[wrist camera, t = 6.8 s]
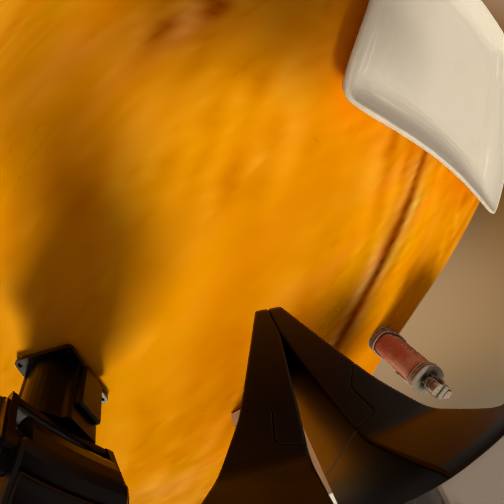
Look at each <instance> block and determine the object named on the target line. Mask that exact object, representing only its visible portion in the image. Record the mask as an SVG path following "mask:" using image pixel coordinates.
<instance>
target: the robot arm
mask: <svg viewBox="0 0 504 504" xmlns="http://www.w3.org/2000/svg"><path fill="white" fill-rule="evenodd" d="M67 350H70V351H71V352H68V351H67ZM21 364H22V365H21ZM15 365H16V367H17V368H18V370H19V371H20V372H21V374H22V375H23V376H24V381H23V384H22V387H21V390H20V393H19V395H18V394H17V393H15V392H14V391H13V392H12V393H11V394H10V395H9V396H8V397H7V398H6V397H1V396H0V504H129V492H128V487H127V485H126V484H125V482H124V479H123V477H122V474H121V472H120V469H119V467H118V464H117V462H116V459H115V456H114V454H113V451H111V450H108V449H104V448H102V447H100V446H98V445H96V444H95V440H96V425H99V424H100V421H101V404H102V403H106V402H107V400H108V396H107V394H106V393H105V392H104V390H103V389H102V386H101V384H100V383H99V381H98V380H97V379H96V377H95V376H94V374H93V373H92V371H91V370H90V369H89V367H88V366H86V365H85V363H84V362H83V360H82V359H81V357H80V356H79V354H78V353H77V351H76V350H75V348H74V347H73V346H72V345H69V344H67V345H63V346H60V347H56V348H53V349H49V350H46V351H42V352H38V353H35V354H31V355H27V356H24V357H20V358H17V360H16V362H15ZM303 428H304V429H303ZM304 430H305V432H306V435H307V437H308V439H309V442H310V444H311V446H312V448H313V451H314V453H315V455H316V457H317V460H318V462H319V464H320V466H321V469H322V471H323V473H324V475H325V477H326V480H327V482H328V484H329V486H330V489H331V491H332V493H333V495H334V497H335V500H336V502H337V504H504V404H503V405H501V406H498V407H494V408H484V409H437V408H432V407H429V406H426V405H423V404H421V403H419V402H417V401H415V400H413V399H412V398H409V397H408V396H406V395H404V394H403V393H401V392H399V391H397V390H395V389H393V388H392V387H390V386H388V385H386V384H385V383H383V382H382V381H380V380H378V379H377V378H375V377H374V376H372V375H371V374H369V373H368V372H366V371H365V370H364V369H362V368H361V367H360V366H358V365H357V364H354V362H353V361H351V360H350V359H349V358H347V357H346V356H345V355H343V354H342V353H341V352H339V351H338V350H337V349H335V348H334V347H333V346H331V345H330V344H329V343H327V342H326V341H325V340H323V339H322V338H321V337H319V336H318V335H317V334H315V333H314V332H313V331H312V330H310V329H309V328H308V327H306V326H305V325H304V324H302V323H301V322H300V321H298V320H297V319H296V318H295V317H293V316H292V315H291V314H289V313H288V312H287V311H286V310H284V309H283V308H281V307H276V308H271V309H269V310H267V309H265V310H260V311H256V312H255V317H254V324H253V331H252V338H251V345H250V351H249V358H248V365H247V372H246V378H245V385H244V392H243V397H242V404H241V409H240V414H239V418H238V421H237V425H236V428H235V432H234V435H233V437H232V440H231V443H230V446H229V449H228V452H227V455H226V458H225V461H224V463H223V466H222V469H221V471H220V473H219V476H218V478H217V480H216V482H215V484H214V485H213V487H212V488H211V490H210V491H209V493H208V494H207V496H206V497H205V499H204V500H203V502H202V503H201V504H334V503H333V501H332V499H331V498H330V496H329V494H328V492H327V490H326V488H325V486H324V484H323V483H322V481H321V479H320V477H319V475H318V473H317V471H316V469H315V467H314V465H313V463H312V460H311V457H310V454H309V450H308V447H307V442H306V438H305V433H304Z"/></svg>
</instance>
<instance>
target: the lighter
mask: <svg viewBox="0 0 504 504" xmlns="http://www.w3.org/2000/svg"><path fill="white" fill-rule="evenodd" d="M368 345H369V347H370V348H371V349H372V350H373V351H374V352H375V353H376V354H377V355H378V356H379V357H381V358H382V359H383V360H386V361H387V362H388V363H389V364H390V365H391V366H392V367H393V368H394V369H395V370H396V373H397V374H398V375H399V376H400V377H401V378H402V379H403V380H405V381H406V382H408V384H409V385H410V387H411V388H412V389H414V390H415V391H416V392H418V393H421V394H429V393H430V394H431V395H433V396H434V397H435V398H437V399H438V400H440V399H441V398H444V399H446V398H449V397H450V395H451V394H452V390H451V389H450V388H449V387H448V386H447V385H446V384H445V381H444V379H443V378H444V374H443V372H442V370H441V369H440V368H439V367H438V366H437V365H436V364H434V363H431V362H429V361H428V360H427V359H425V358H424V357H423V356H422V355H421V354H419V353H418V352H417V351H416V350H415V349H413V348H412V347H411V346H410V345H409V344H407V342H406V341H405V340H404V338H402V336H400V335H399V334H398V333H397V332H395V331H393V330H391V329H388V328H384V327H381V328H379V329H377V330H376V331H375V332H374V333H373V334H372V336H371V337H370V339H369V342H368Z"/></svg>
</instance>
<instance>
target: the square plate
mask: <svg viewBox="0 0 504 504" xmlns="http://www.w3.org/2000/svg"><path fill="white" fill-rule="evenodd" d="M342 87H343V92H344V93H345V96H346V98H347V99H348V101H349V102H350V103H352V104H353V105H354V106H356V107H357V108H359V109H360V110H361V111H363V112H365V113H366V114H368V115H369V116H371V117H373V118H374V119H376V120H377V121H379V122H381V123H383V124H385V125H386V126H388V127H390V128H391V129H393V130H395V131H396V132H398V133H400V134H401V135H403V136H404V137H406V138H407V139H409V140H410V141H412V142H413V143H415V144H417V145H418V146H420V147H421V148H422V149H424V150H425V151H426V152H428V153H430V154H431V155H432V156H433V157H435V158H436V159H437V160H439V161H440V162H441V163H442V164H443V165H445V166H446V167H447V168H448V169H449V170H450V171H452V172H453V173H454V174H455V175H456V176H457V177H458V178H459V179H460V180H461V181H462V182H463V183H464V184H465V185H466V186H467V187H468V188H469V189H470V190H471V191H472V193H473V194H474V195H475V196H476V197H477V198H478V199H479V201H480V202H481V203H482V204H483V205H484V206H485V208H486V209H487V210H488V211H489V212H491V213H493V214H494V213H495V212H496V210H497V206H498V203H499V200H500V196H501V191H502V188H503V183H504V33H503V31H502V30H501V28H500V27H499V25H498V23H497V22H496V21H495V19H494V18H493V16H492V14H491V13H490V12H489V10H488V9H487V7H486V6H485V5H484V3H483V2H482V1H481V0H369V3H368V6H367V9H366V12H365V15H364V18H363V21H362V23H361V26H360V29H359V32H358V35H357V38H356V40H355V43H354V46H353V49H352V52H351V55H350V58H349V61H348V64H347V68H346V71H345V75H344V79H343V82H342Z"/></svg>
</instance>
